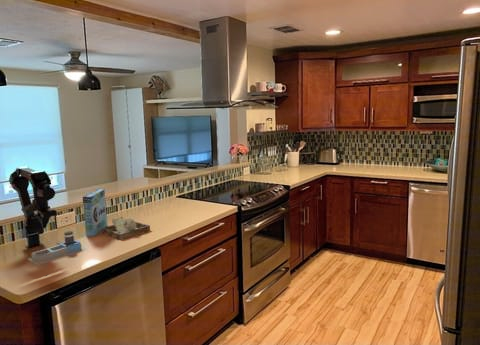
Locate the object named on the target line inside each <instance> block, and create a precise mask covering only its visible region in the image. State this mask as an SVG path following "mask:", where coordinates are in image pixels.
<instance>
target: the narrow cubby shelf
mask: <svg viewBox="0 0 480 345" xmlns="http://www.w3.org/2000/svg"><path fill="white" fill-rule="evenodd" d="M59 244H60V245H58V244H56V245H55V246H51V247H47V248H45V249H41V250H37V251H34V252H31V257H28V258H27V260H28V261H30V262H31V263H33V264H35V265H37V266H39V265H42V264H46V263H49V262H52V261H54V260H58V259H61V258H65V257H68V256H70V255H74V254H77V253H80V252H83V251H86V250H88V249H87V248H85V247H83V246H82V243H81V241H79V240H77V239H74V244H71V245H68V246H67V245H66V244H65V241H64V242H62V243H59Z"/></svg>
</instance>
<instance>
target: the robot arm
mask: <svg viewBox="0 0 480 345" xmlns="http://www.w3.org/2000/svg"><path fill="white" fill-rule="evenodd" d="M8 182H9V184H10V185H11V188H12V189H13V191H15V192H17V195H18V199H19V201H20V205H21V209H20V210H21V211H22V213H23V216H24V220H23V227H22V230H21V235H22V237H23V238H24V239H26V240H27V241H26V242H27V245H25V248H27V249H34V248H36V247H40V246H43V245H44V244H43V243H41V238H40V235H43V234H44V229H46V228H47V226H48V223H49V221H50V219H51V217H55V216H57V215H58V212H57V210H56V209H54V208H51V206H49V201H50V200H52V199H54V198H55V195H56V190H55V188H52V187H51V185H52V180H51V177H49V174H48V172H46V171H45V170H35V169H33V168H30V167H29V166H27V165H25V166H19V167H16V169H15V170H14V171H13V172H12V173H10V175H9V179H8ZM29 185H31V188H32V194H33V199H32V200H31V197H30V194H29V191H28V188H29Z"/></svg>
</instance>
